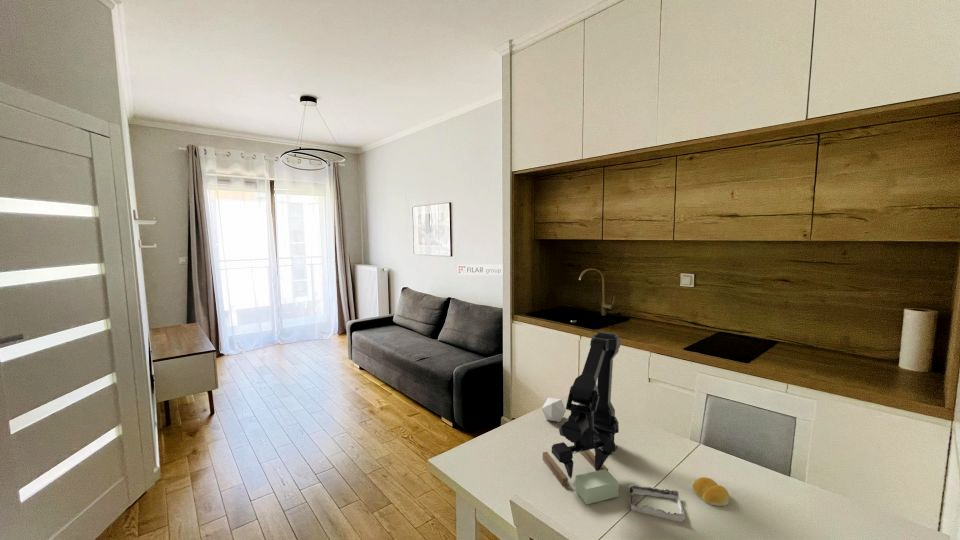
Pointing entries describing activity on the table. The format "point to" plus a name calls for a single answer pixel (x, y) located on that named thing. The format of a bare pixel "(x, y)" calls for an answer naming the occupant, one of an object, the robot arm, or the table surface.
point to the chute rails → (559, 473)
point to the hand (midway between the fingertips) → (583, 474)
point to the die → (553, 409)
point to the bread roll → (711, 492)
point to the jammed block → (596, 486)
